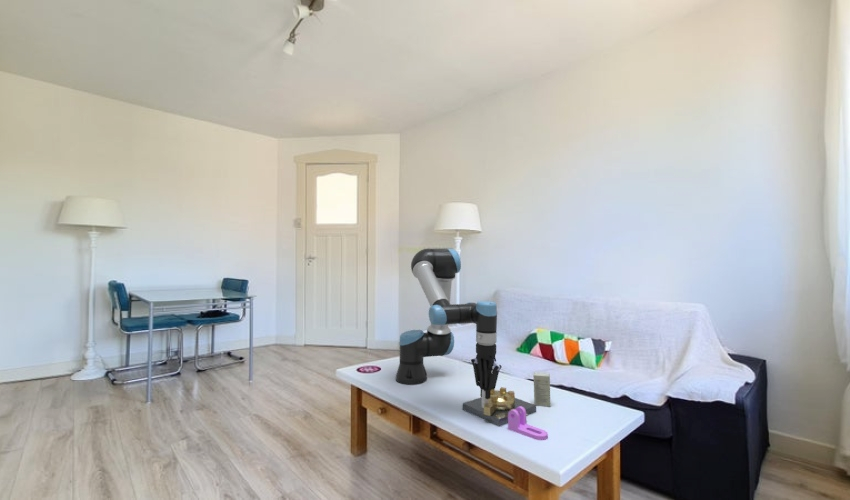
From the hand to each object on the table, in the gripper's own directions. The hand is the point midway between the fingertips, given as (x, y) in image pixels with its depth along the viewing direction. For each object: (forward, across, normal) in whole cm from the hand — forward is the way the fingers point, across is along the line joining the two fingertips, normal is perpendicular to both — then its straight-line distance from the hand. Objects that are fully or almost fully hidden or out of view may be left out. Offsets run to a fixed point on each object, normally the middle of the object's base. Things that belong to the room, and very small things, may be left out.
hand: (485, 406), depth 143 cm
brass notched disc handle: (+1, 0, +6) cm, 6 cm away
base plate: (+4, +1, +9) cm, 10 cm away
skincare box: (+4, +7, +28) cm, 29 cm away
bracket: (+4, +18, +2) cm, 18 cm away
